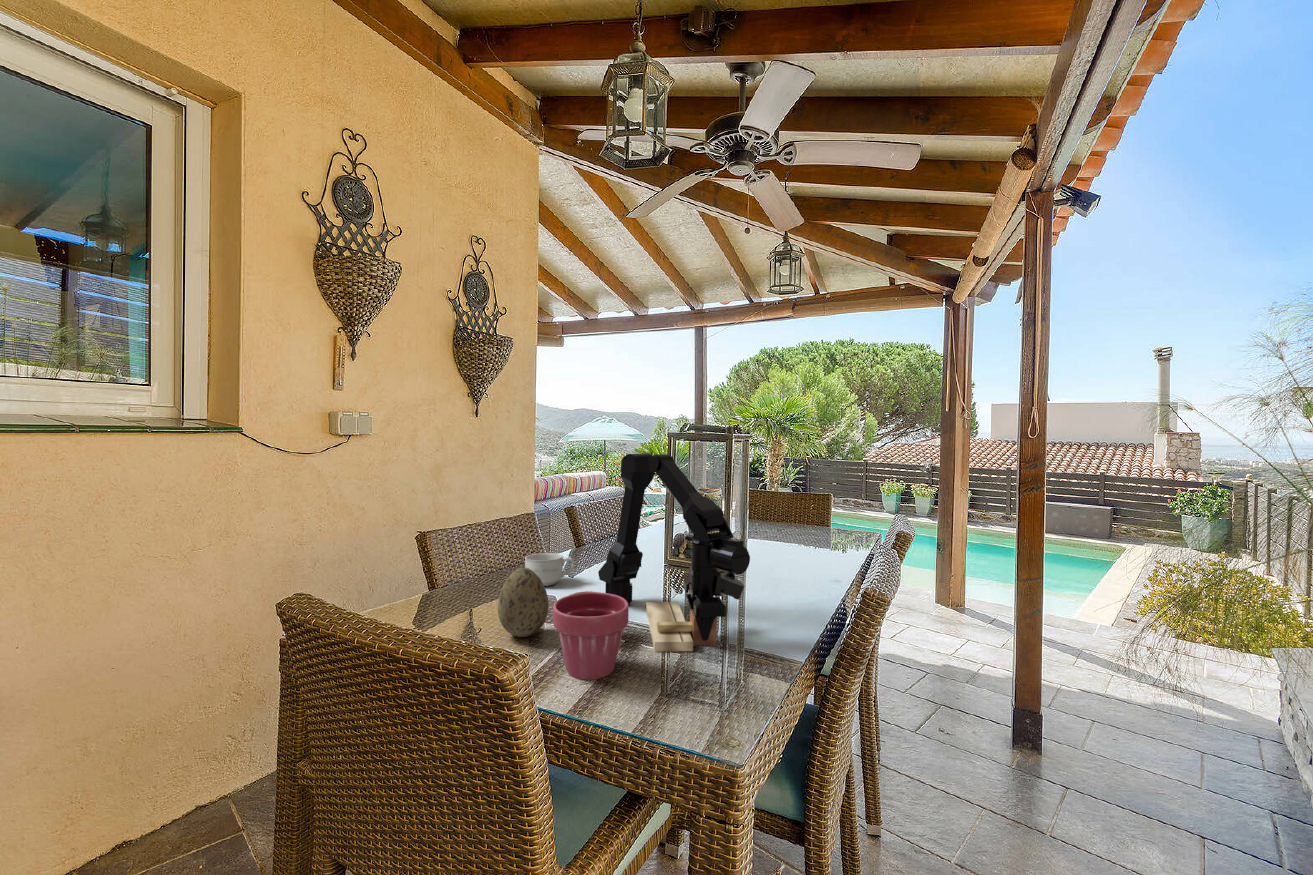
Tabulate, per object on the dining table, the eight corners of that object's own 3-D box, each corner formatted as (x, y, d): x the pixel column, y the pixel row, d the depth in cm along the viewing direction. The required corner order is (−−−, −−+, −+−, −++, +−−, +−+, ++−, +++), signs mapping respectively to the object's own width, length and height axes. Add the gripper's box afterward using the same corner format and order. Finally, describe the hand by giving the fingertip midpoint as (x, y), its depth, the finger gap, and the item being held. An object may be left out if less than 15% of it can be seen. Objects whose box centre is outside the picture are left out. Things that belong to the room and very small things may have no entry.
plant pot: (562, 692, 100) (563, 620, 100) (544, 660, 113) (545, 596, 113) (638, 679, 106) (639, 610, 105) (613, 649, 119) (614, 588, 118)
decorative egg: (487, 640, 122) (487, 570, 121) (517, 623, 132) (517, 559, 131) (529, 649, 118) (530, 577, 117) (557, 631, 128) (558, 564, 127)
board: (654, 651, 118) (654, 641, 118) (645, 609, 143) (646, 601, 143) (692, 651, 119) (693, 641, 119) (677, 609, 144) (677, 601, 144)
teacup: (518, 587, 159) (518, 559, 159) (533, 576, 170) (533, 550, 169) (566, 591, 157) (567, 562, 156) (578, 580, 167) (579, 552, 167)
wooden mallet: (657, 646, 121) (658, 618, 121) (655, 636, 126) (656, 609, 126) (716, 645, 122) (717, 617, 122) (711, 636, 127) (712, 609, 127)
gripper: (752, 576, 115) (749, 652, 116) (731, 553, 134) (730, 618, 135) (697, 576, 114) (695, 653, 115) (684, 553, 133) (683, 619, 134)
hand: (702, 634), depth 125 cm, fingers open, 6 cm apart
